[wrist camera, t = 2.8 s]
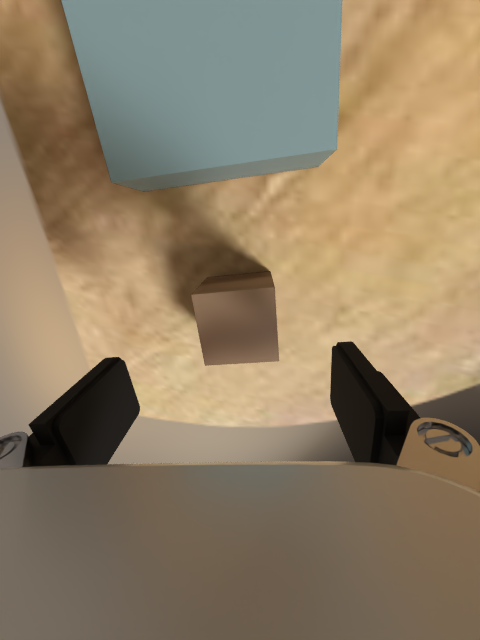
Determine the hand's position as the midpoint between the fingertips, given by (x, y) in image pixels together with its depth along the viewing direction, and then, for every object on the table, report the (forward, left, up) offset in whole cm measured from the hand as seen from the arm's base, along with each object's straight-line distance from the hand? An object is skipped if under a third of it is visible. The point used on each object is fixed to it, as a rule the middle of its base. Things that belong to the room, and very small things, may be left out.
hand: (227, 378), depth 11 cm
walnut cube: (0, 0, -10) cm, 10 cm away
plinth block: (-15, 0, -10) cm, 18 cm away
